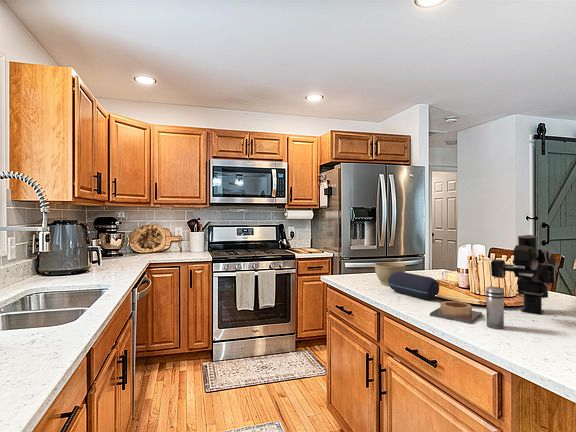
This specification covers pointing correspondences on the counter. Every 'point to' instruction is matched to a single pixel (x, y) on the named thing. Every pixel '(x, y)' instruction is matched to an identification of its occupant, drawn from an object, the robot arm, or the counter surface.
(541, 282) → the robot arm
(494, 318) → the steel piston
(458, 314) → the piston socket base
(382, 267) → the planter bowl
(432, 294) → the portable speaker
